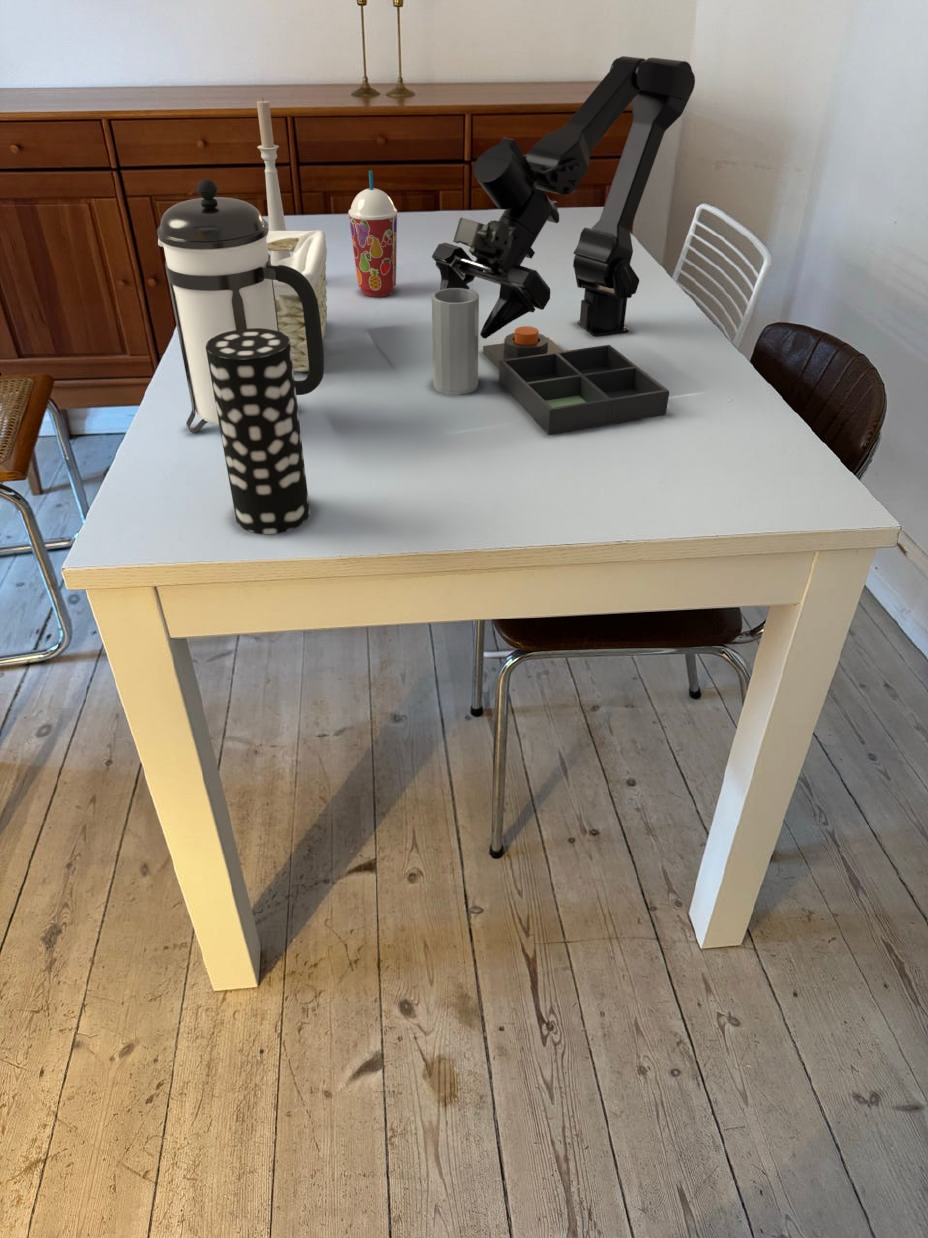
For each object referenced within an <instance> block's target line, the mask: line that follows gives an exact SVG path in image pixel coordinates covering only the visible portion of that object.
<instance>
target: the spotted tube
mask: <svg viewBox="0 0 928 1238" xmlns="http://www.w3.org/2000/svg"><path fill="white" fill-rule="evenodd" d="M206 352H207V358H208V364H209V369H210V375H211V381H212V386H213V392H214V398H215V403H216V409H217V415H218V420H219V426H218V427H219V432H220V436H221V442H222V448H223V453H224V459H225V465H226V471H227V477H228V483H229V488H230V493H231V499H232V504H233V510H234V516H235V521H236V523H237V525H238V526H239V527H240V528H242V529H243V530H245V531H247V532H250V533H253V534H259V535H260V534H262V535H272V534H273V535H274V534H281V533H285V532H289V531H292V530H294V529H296V528H299V527H300V526H302V525H303V524H304V523H306V522H307V520H308V518H309V517H310V514H311V508H310V501H309V491H308V483H307V474H306V466H305V459H304V457H305V456H304V449H303V442H302V441H303V440H302V434H301V433H302V432H301V424H300V415H299V409H298V400H297V399H298V398H297V395H296V389H295V381H296V380H295V373H294V372H295V371H294V372H293V364H292V355H291V347H290V339H289V338H288V336H287V335H285V334H284V333H281V332H279V331H275V330H270V329H261V328H249V329H239V330H233V331H228V332H225V333H222V334H219V335H217V336H215V337H213V338H211V339H210V340H209V341H208V342H207V344H206ZM294 380H295V381H294Z"/></svg>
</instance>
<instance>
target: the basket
mask: <svg viewBox="0 0 928 1238" xmlns="http://www.w3.org/2000/svg"><path fill="white" fill-rule="evenodd" d="M266 238H267V247H268V252H271V251H288V252H290V253H293V254H292V255H290V256H291V257H288V258H286V259H283V260H280V261H278V262H275V263H272V262H271V265H272V266H278V265H284V266H288V267H290V268H293V269H295V270H297V271H298V272H300V273H301V274H302V275H303V276H304V277H305V278H306V279H307V280H308V281H309V283H310V284H311V286H312V288H313V290H314V292H315V295H316V298H317V302H318V307H319V313H320V321H321V331H322V341H323V342H324V338H325V336H326V335H325V333H326V332H325V331H326V328H327V325H328V312H327V311H328V305H327V300H328V297H327V281H326V278H327V272H326V271H327V264H326V263H327V254H328V248H327V241H326V233H325V231H323V230H317V229H315V230H286V231H269V232H268V235H267V237H266ZM273 287H274V295H275V303H276V311H277V319H278V327H279V332H281V333H284V334H285V335H287V336H288V338H289V339H290V347H291V355H292V364H293V372H309V361H308V351H307V342H306V332H305V323H304V314H303V307H302V303H301V300H300V298H299V296H298V294H297V293H296V291H295V290H294V289H293V288H292V287H291V286H290V285H288V284H286V283H283V282H278V280H273Z"/></svg>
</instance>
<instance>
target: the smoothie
mask: <svg viewBox="0 0 928 1238" xmlns="http://www.w3.org/2000/svg"><path fill="white" fill-rule="evenodd" d="M373 172H374V171H373V170H368V180H369V182H368V184H369V188H366V189H362V190H361V191H360V192H359V193H357V194H356V196H355V197H354V199H353V201H352V203H351V206H350V209H348V218H349V225H350V226H349V227H350V234H351V241H352V247H353V248H352V249H353V256H354V264H355V271H356V278H357V279H356V280H357V286H358V287H359V288H360V291H361V293H362V295H365V296H367V297H371V298H382V297H383V298H384V297H387V296H389V295H391V294H392V293H394V287H396V285H397V253H398V252H397V249H398V248H397V247H398V246H397V243H398V209H397V207H395V204H394V202H393V200H392V199H391V197H390V196H389V195H388V194H387V192H385V191H383V190H381V189H378V188H376V187H374V174H373Z"/></svg>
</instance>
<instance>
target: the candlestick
mask: <svg viewBox="0 0 928 1238" xmlns="http://www.w3.org/2000/svg"><path fill="white" fill-rule="evenodd" d="M256 105H257V106H256V108H257V117H258V124H259V133H260V141H261V144H260V145H258V146H257V149H258V150H259V151H260V153H261V154H260V158H261V159H262V160H263V162H264V164H265V169H264V174H265V189H266V190H265V191H266V201H267V202H266V203H267V214H268V215H267V216H268V229H269V231H287V226H286V221H285V220H286V219H285V215H284V214H285V213H284V207H283V201H282V196H281V190H280V189H281V188H280V183H279V176H278V169H277V168H276V160H277V158H278V154H277V150H278V149H279V148H280V145H277V144H274V143H275V142H274V135H273V124H272V115H271V108H270V101H268V100H264V98H262V100H258V101H256ZM291 256H292V255H291V252H288V251H270V257H271V263H275V262H278V261H280V260H283V259H286V258H288V257H291Z"/></svg>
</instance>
